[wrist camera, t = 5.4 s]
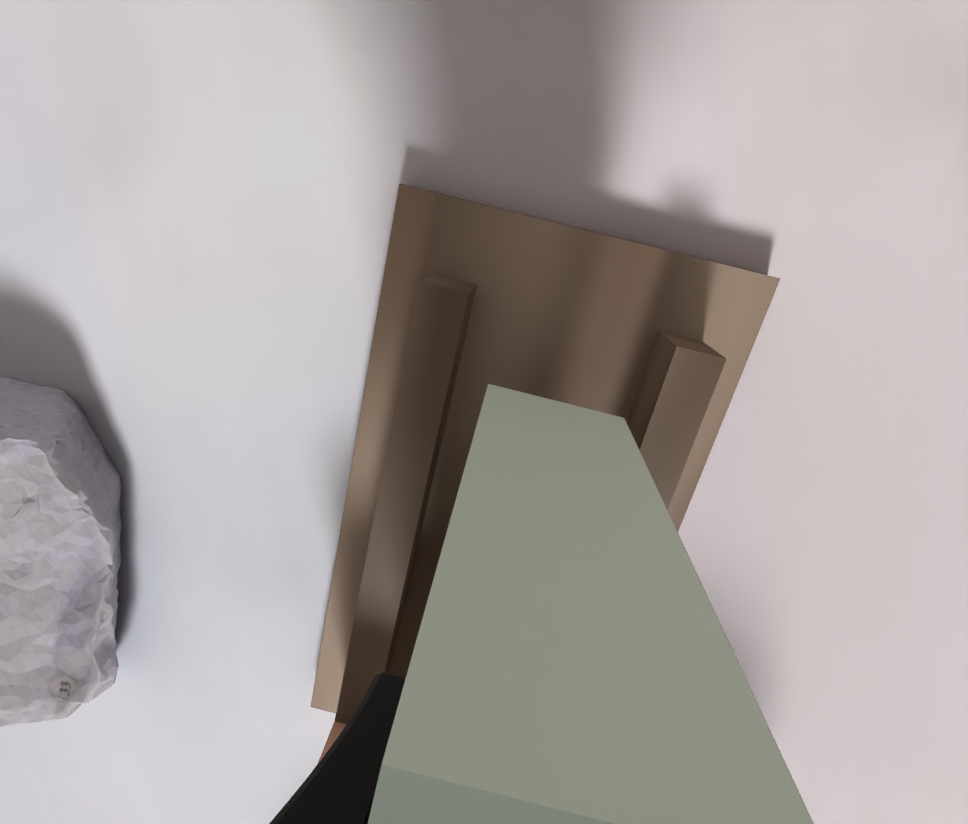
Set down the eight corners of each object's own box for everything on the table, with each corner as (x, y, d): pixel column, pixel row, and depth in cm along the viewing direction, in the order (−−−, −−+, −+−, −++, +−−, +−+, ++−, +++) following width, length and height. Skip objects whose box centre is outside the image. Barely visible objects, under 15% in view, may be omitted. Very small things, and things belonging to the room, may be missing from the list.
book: (624, 417, 12) (840, 879, 4) (501, 779, 16) (464, 1439, 7) (488, 384, 12) (381, 764, 4) (396, 752, 16) (235, 1380, 7)
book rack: (768, 275, 15) (939, 316, 9) (577, 755, 21) (596, 989, 15) (406, 185, 15) (312, 159, 9) (318, 689, 21) (224, 894, 15)
